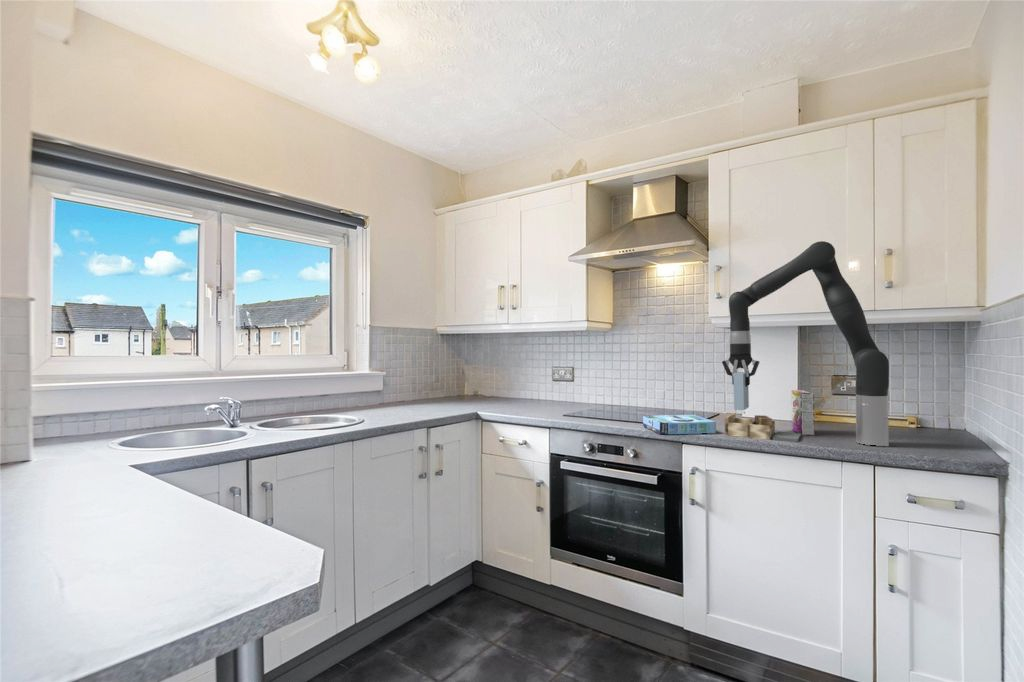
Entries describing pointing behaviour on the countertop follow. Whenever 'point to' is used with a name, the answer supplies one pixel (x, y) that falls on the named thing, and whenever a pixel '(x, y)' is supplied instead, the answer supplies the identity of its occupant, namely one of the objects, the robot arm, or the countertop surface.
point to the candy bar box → (802, 412)
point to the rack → (747, 428)
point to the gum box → (679, 424)
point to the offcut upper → (763, 420)
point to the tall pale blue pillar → (740, 391)
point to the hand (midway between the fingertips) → (741, 386)
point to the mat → (787, 436)
